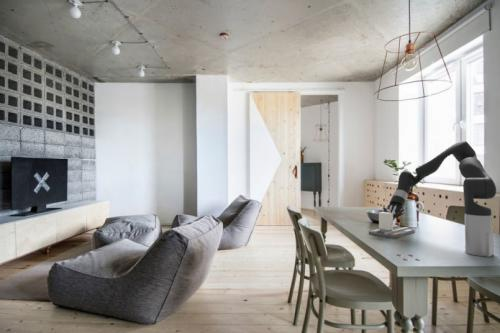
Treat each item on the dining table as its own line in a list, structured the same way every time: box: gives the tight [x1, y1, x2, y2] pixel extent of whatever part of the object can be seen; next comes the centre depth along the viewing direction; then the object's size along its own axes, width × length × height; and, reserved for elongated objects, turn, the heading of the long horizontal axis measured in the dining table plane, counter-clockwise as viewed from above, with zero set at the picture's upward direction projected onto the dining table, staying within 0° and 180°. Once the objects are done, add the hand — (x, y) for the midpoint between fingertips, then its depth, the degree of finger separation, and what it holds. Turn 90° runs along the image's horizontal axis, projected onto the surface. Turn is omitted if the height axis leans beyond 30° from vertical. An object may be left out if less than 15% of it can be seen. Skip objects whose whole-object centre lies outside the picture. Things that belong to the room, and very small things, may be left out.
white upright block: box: [378, 211, 394, 233], centre depth 161 cm, size 6×5×11 cm
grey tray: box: [368, 224, 416, 239], centre depth 165 cm, size 14×24×2 cm, turn 125°
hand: (388, 222), depth 163 cm, fingers closed
